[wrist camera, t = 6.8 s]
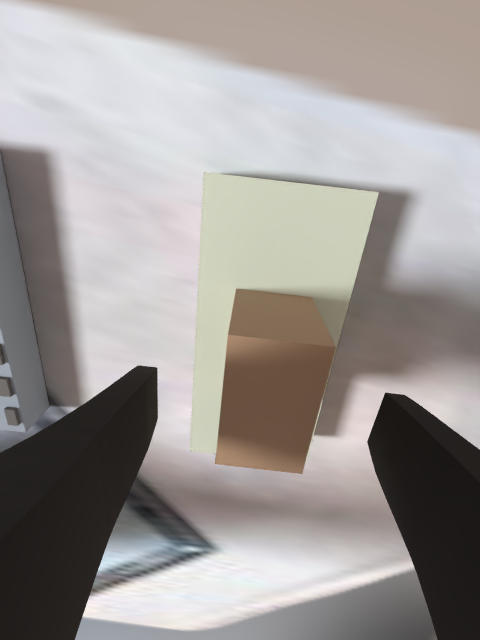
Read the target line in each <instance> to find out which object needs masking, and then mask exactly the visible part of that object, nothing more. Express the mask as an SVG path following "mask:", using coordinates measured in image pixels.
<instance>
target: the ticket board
mask: <svg viewBox="0 0 480 640" xmlns="http://www.w3.org/2000/svg"><path fill="white" fill-rule="evenodd" d="M49 407H50V406H49V401H48V396H47V391H46V386H45V380H44V375H43V370H42V365H41V360H40V354H39V349H38V344H37V339H36V334H35V328H34V323H33V318H32V313H31V308H30V302H29V297H28V292H27V287H26V282H25V276H24V271H23V266H22V261H21V256H20V250H19V245H18V240H17V235H16V230H15V224H14V219H13V214H12V209H11V204H10V198H9V193H8V188H7V183H6V178H5V172H4V167H3V162H2V157H1V152H0V430H8V431H17V432H27V431H28V430H29V428H30V427H31V426H32V425H33V424H34V423H35V422H36V421H37V420H38V419H39V418H40V416H41V415H42V414H43V413H44V412H45V411H46V410H47V409H48V408H49Z"/></svg>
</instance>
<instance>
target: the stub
mask: <svg viewBox="0 0 480 640" xmlns="http://www.w3.org/2000/svg"><path fill="white" fill-rule="evenodd" d="M378 194H379V192H373V191H364V190H355V189H346V188H338V187H329V186H320V185H312V184H303V183H294V182H285V181H277V180H268V179H259V178H251V177H242V176H233V175H224V174H216V173H207V172H204V178H203V198H202V218H201V238H200V258H199V278H198V298H197V318H196V338H195V358H194V378H193V398H192V418H191V438H190V451H194V452H203V453H212V454H216V460H215V464H220V465H229V466H238V467H247V468H255V469H264V470H273V471H282V472H291V473H300V474H302V472H303V469H304V465H305V464H306V461H307V457H308V454H309V450H310V446H311V443H312V439H313V435H314V431H315V428H316V424H317V420H318V417H319V413H320V409H321V405H322V402H323V398H324V394H325V391H326V387H327V383H328V379H329V376H330V372H331V368H332V365H333V361H334V357H335V354H336V350H337V346H338V342H339V339H340V335H341V331H342V328H343V324H344V320H345V316H346V313H347V309H348V305H349V302H350V298H351V294H352V290H353V287H354V283H355V279H356V276H357V272H358V268H359V265H360V261H361V257H362V253H363V250H364V246H365V242H366V239H367V235H368V231H369V227H370V224H371V220H372V216H373V213H374V209H375V205H376V201H377V198H378Z"/></svg>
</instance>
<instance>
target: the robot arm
mask: <svg viewBox="0 0 480 640" xmlns="http://www.w3.org/2000/svg"><path fill="white" fill-rule="evenodd" d="M157 419H158V399H157V368H156V367H147V366H137V367H135V368H134V369H132V370H131V371H129V372H128V373H127V374H125V375H124V376H123V377H121V378H120V379H119V380H117V381H116V382H114V383H113V384H112V385H110V386H109V387H108V388H106V389H105V390H103V391H102V392H101V393H99V394H98V395H96V396H95V397H93V398H92V399H91V400H89V401H88V402H86V403H85V404H83V405H82V406H80V407H79V408H77V409H75V410H74V411H72V412H71V413H69V414H68V415H66V416H65V417H63V418H61V419H60V420H58V421H57V422H55V423H54V424H52V425H50V426H49V427H47V428H45V429H43V430H42V431H40V432H38V433H36V434H35V435H33V436H31V437H29V438H27V439H26V440H24V441H22V442H20V443H18V444H16V445H15V446H13V447H11V448H9V449H7V450H5V451H3V452H1V453H0V640H75V637H76V634H77V631H78V628H79V625H80V622H81V619H82V616H83V613H84V610H85V607H86V604H87V601H88V598H89V595H90V592H91V589H92V586H93V583H94V580H95V577H96V574H97V571H98V568H99V566H100V563H101V560H102V557H103V554H104V551H105V548H106V545H107V543H108V540H109V537H110V535H111V532H112V530H113V527H114V525H115V522H116V520H117V518H118V516H119V513H120V511H121V509H122V507H123V505H124V502H125V500H126V498H127V496H128V493H129V491H130V489H131V487H132V484H133V482H134V480H135V478H136V476H137V473H138V471H139V469H140V467H141V464H142V462H143V460H144V457H145V455H146V453H147V451H148V448H149V445H150V442H151V439H152V436H153V432H154V429H155V426H156V422H157ZM367 442H368V446H369V450H370V454H371V458H372V461H373V465H374V468H375V472H376V475H377V477H378V480H379V482H380V485H381V487H382V489H383V492H384V494H385V497H386V499H387V502H388V504H389V506H390V509H391V511H392V513H393V516H394V518H395V521H396V523H397V525H398V528H399V530H400V532H401V535H402V537H403V540H404V542H405V544H406V547H407V549H408V551H409V554H410V556H411V559H412V562H413V564H414V567H415V570H416V572H417V575H418V578H419V581H420V584H421V588H422V591H423V594H424V597H425V600H426V603H427V606H428V609H429V612H430V615H431V619H432V622H433V625H434V629H435V632H436V635H437V639H438V640H480V450H479V449H478V448H477V447H475V446H474V445H472V444H471V443H470V442H468V441H467V440H466V439H464V438H463V437H462V436H460V435H459V434H458V433H456V432H455V431H454V430H452V429H451V428H450V427H448V426H447V425H446V424H444V423H443V422H442V421H440V420H439V419H438V418H436V417H435V416H434V415H432V414H431V413H430V412H428V411H427V410H426V409H424V408H423V407H422V406H420V405H419V404H417V403H416V402H415V401H413V400H412V399H410V398H409V397H407V396H405V395H400V394H391V393H385V395H384V398H383V400H382V403H381V406H380V409H379V411H378V414H377V417H376V419H375V422H374V425H373V428H372V430H371V433H370V436H369V438H368V441H367Z"/></svg>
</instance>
